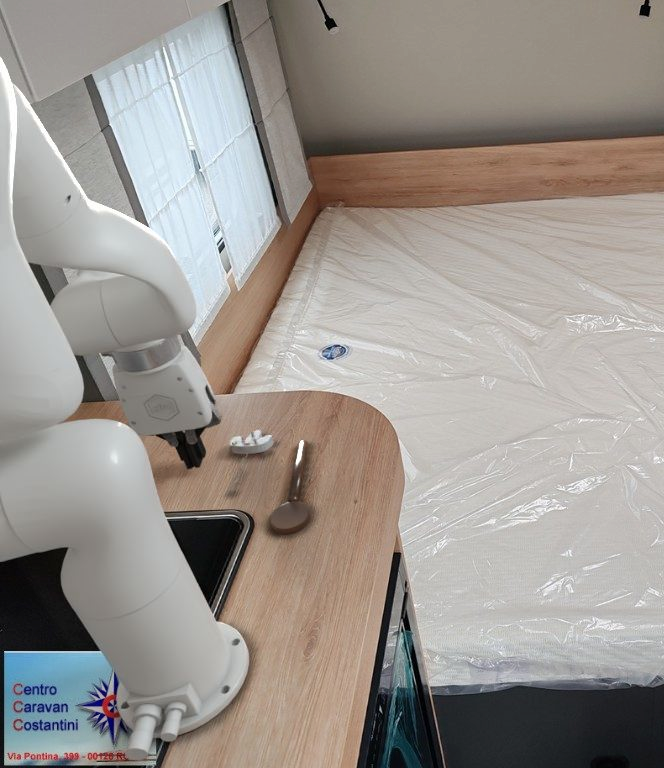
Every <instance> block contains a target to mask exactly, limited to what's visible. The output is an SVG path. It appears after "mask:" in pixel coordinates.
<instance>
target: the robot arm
mask: <svg viewBox="0 0 664 768" xmlns="http://www.w3.org/2000/svg"><path fill="white" fill-rule="evenodd" d="M30 264H33V265H40V266H46V267H53V268H60V269H69V270H77V271H76V277H75V278H74V279H72V281H70V282H69V283H67V284H66V285H65V286H64V287H62V289H60V290H59V291H58V293H57V294H56V295H55V296H54V298H53V300H52V302H51V303H49V302H48V300H47V298H46V297H47V296H45V294H44V291H43V290H42V288H41V285H40V284H39V282H38V280H37V278H36V276H35V274H34V272H33V270H32V268H31V266H30ZM196 318H197V303H196V298H195V296H194V293H193V291H192V288H191V285H190V283H189V281H188V279H187V276H186V275H185V273H184V271H183V270H182V268H181V266H180V263H179V262H178V260H177V259H176V256H175V255H174V253H173V251H172V249H171V248H170V246H169V245H168V244H167V243H166V241H165V240H164V239H162V238H161V236H159V235H158V233H156V232H155V231H153V230H152V229H151V228H149V227H147V226H146V225H144V224H142V223H141V222H139V221H137V220H135V219H134V218H131V216H130V217H129V216H127V215H126V214H124V213H121V212H120V211H117V210H115V209H112V208H110V207H109V206H108V207H107V206H106V205H102V204H100V203H97V202H95V201H92V200H90V199H89V198H88V197H87V195H86V194H85V192H84V190H83V188H82V187H81V185H80V184H79V182H78V180H77V179H76V178H75V175H74V174H73V172H72V170H71V169H70V168H69V166H68V164H67V163H66V161H65V160H64V158H63V156H62V155H61V153H60V151H59V150H58V147H57V146H56V144H55V143H54V141H53V139H52V138H51V137H50V134H49V133H48V132H47V130H46V129H45V127H44V125H43V123H42V122H41V121H40V119H39V117H38V116H37V114H36V113H35V111H34V109H33V108H32V106H31V104H30V102H29V101H28V100H27V98H26V96H25V95H24V94H23V92H22V91H21V90H20V89H19V87H18V86H17V85H15V84H14V82H12V80H11V78H10V74H9V72H8V69H7V67H6V64H5V62H4V60H3V59H2V57H1V56H0V563H1V562H6V561H9V560H14V559H17V558H22V557H24V556H29V555H32V554H36V553H44V552H48V551H51V550H56V549H62V548H67V551H66V554H65V556H64V558H63V562H62V565H61V571H60V586H61V588H62V592H63V595H64V596H65V599H66V600H67V602H68V603H69V605H70V607H71V609H72V610H73V611H74V612H75V614H76V616H77V617H78V618H79V620H80V621H81V623H82V624H83V625H82V626H84V628H85V629H86V631H87V632H88V634H89V635H90V637H91V638H92V640H93V641H94V643H95V645H96V646H97V648H98V649H99V651H100V652H101V654H102V655H103V657H104V658H105V660H106V662H107V663H108V665H109V666H110V667H111V669H112V670H113V672H114V673H115V676H116V677H117V678H118V680H119V683H118V686H117V690H116V697H115V701H116V709H117V711H118V714H119V716H120V718H121V720H122V721H123V722H124V724H125V725H126V727H128V728H129V729H130V730H131V731H132V733H130V736H129V740H128V743H127V746H126V749H125V752H124V756H125V757H126V758H127V759H129V760H131V761H143V760H144V759H147V758H148V756H149V753H150V751H151V747H152V743H153V739H161V740H162V741H163V742H174V741H176V739H177V737H178V736H180V735H183V734H186V733H189V732H192V731H194V730H196V729H198V728H199V727H201V726H203V725H205V724H206V723H208V722H209V721H211V720H212V719H213V718H215V717H216V716H218V715H220V714H221V712H222V711H223V710H224V709H226V708H227V707H228V706H229V704H230V703H231V702H232V701H233V699H235V697H236V696H237V694H238V693H239V691H240V689H241V688H242V687H243V685H244V683H245V680H246V677H247V675H248V672H249V666H250V652H249V649H248V645H247V643H246V641H245V640H244V637H243V635H241V633H240V632H239V631H238V630H237V629H236V628H235V627H233V626H231V625H230V624H227V623H224V622H221V621H217V620H216V618H215V616H214V614H213V612H212V610H211V607H210V606H209V603H208V602H207V600H206V597H205V595H204V594H203V591H202V590H201V587H200V586H199V583H198V582H197V579H196V577H195V575H194V573H193V571H192V569H191V567H190V565H189V563H188V561H187V559H186V556H185V555H184V553H183V551H182V549H181V547H180V545H179V543H178V541H177V539H176V537H175V535H174V532H173V530H172V528H171V525H170V523H169V521H168V519H167V517H166V515H165V514H166V513H165V511H164V509H163V506H162V504H161V500H160V497H159V494H158V490H157V486H156V482H155V478H154V474H153V470H152V466H151V465H152V464H151V461H150V457H149V455H148V452H147V449H146V447H145V445H144V443H143V441H142V439H141V436H143V437H144V436H146V437H147V436H148V437H154V436H155V437H157V438H159V439H162V440H163V441H165V442H167V444H168V445H169V446H170V447H173V448H175V450H176V453H177V455H178V457H179V460H180V461H181V462H184V465H185V467H186V469H187V470H191V469H193V468H195V469H198V468H199V469H200V468H201V466H202V462H203V460H204V458H206V455H207V449H206V447H205V445H204V442H203V440H202V437H201V436H202V434H203V433H204V431H205V430H206V429H209V428H212V427H215V426H218V425H220V424H221V421H222V418H223V415H222V414H221V412H220V411H219V410H218V408H217V407H216V406H217V400H216V396H215V394H214V391H213V389H212V386H211V384H210V383H209V380H208V379H207V377H206V374H205V372H204V371H203V369H202V367H201V366H200V364H199V362H198V361H197V359H196V357H195V356H194V354H192V352H191V351H190V349H189V348H188V347H187V346H186V345H182V343H181V342H180V339H179V337H178V336H180V335H182V334H184V333H186V332H189V330H190V329H191V328H192V327H193V326H194V324H195V322H196ZM97 354H101V356H102V357H103V358H104V357H105V358H106V357H109V358H112V360H113V361H114V365H112V368H111V370H112V376H113V381H114V386H115V389H116V393H117V396H118V400H119V403H120V406H121V408H122V409H121V410H122V412H123V413H124V416H125V419H126V421H127V423H128V425H127V424H125V423H123V422H120V421H118V420H113V419H107V418H88V419H77V420H72V421H66V420H68V418H70V417H71V416H72V415H73V414H75V413H76V412H77V410H78V409H79V407H80V405H81V404H82V402H83V398H84V391H85V383H84V377H83V374H82V371H81V369H80V367H79V363H78V361H77V359H76V356H92V355H97ZM64 421H66V422H64Z"/></svg>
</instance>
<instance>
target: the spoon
mask: <svg viewBox="0 0 664 768" xmlns="http://www.w3.org/2000/svg"><path fill="white" fill-rule="evenodd" d="M308 451H309V442H308V441H307V440H305V439H304V440H300V441H299V442H298V444H297V447H296V453H295V459H294V464H293V469H292V474H291V480H290V484H289V485H290V486H289V491H288V495H287V502H285V503H283V504H281V505H280V506H278V507H277V508H276V509H274V511H273V512H272V513H271V515H270V525H271V528H272V529H273V530H274V532H276V533H277V534H281V535H291V534H295V533H298V532H300V531H302V530H303V529H305V528H306V527H307V526H308V525H309V523H310V522H311V518H312V513H311V510H310V507H309V505H308V504H306V503H305V502H303V501H300V497H301V492H302V485H303V480H304V474H305V468H306V462H307V457H308Z"/></svg>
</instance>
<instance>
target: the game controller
mask: <svg viewBox="0 0 664 768" xmlns="http://www.w3.org/2000/svg"><path fill="white" fill-rule="evenodd" d="M274 444H275V443H274V439H273V435H272V434H266V435H264V436H263V435H262V430H261V429H256V430H254V431H251V432H250V434H249V435H248V436H247V437H246V438H245V437H244V436H241V435H235V436H234V437H232V438H231V440H230V442H229V445H230V449H231V453H233V454H238V455H246V456H245V457H243V458H242V460H241V463H240V465H239V473H238V477H237V479H236V481H238V480H239V479H240V478H241V477H240V476H241V473H242V464H243V462H244V460H245V459H246V458H247V457H248V455H249V454H250V455H251V454H258V453H263V452H266V451H268V450H270V449H271V447H272V446H273V445H274ZM236 481H234V482H233V483H232V486H231V489H230V493H231V494H232V495H234V493H233V489H234V485H235V483H236Z"/></svg>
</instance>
